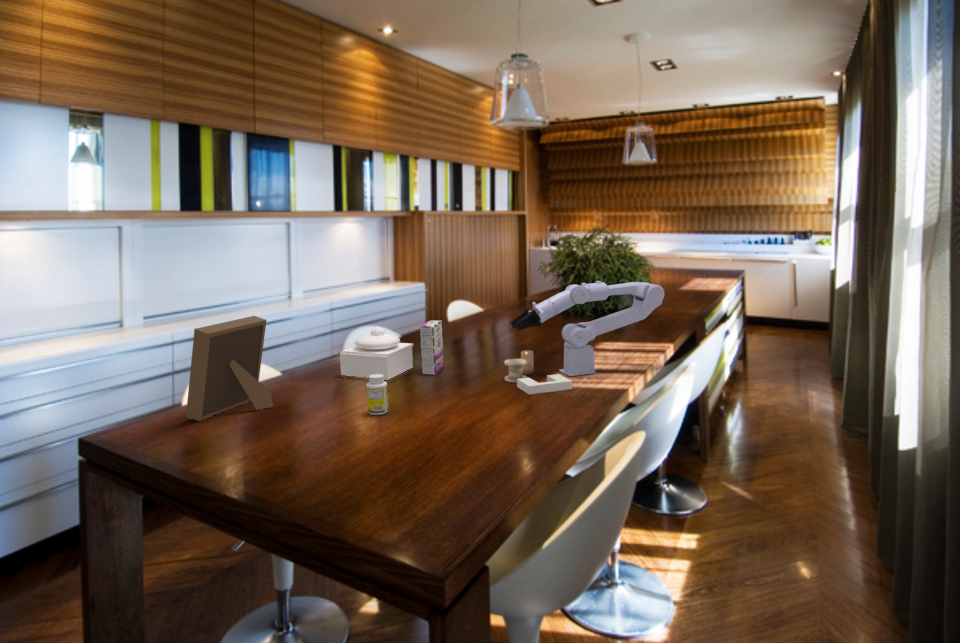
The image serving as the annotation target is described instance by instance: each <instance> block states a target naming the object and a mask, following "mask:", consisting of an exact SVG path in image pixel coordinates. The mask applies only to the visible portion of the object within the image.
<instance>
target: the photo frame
mask: <svg viewBox="0 0 960 643" xmlns="http://www.w3.org/2000/svg"><path fill="white" fill-rule="evenodd" d="M266 325H267V319H265V318H263V317H259V316H256V315H252V316H246V317H243V318H241V317H240V318H238V319H233V320H227V321H225V322H220V323H215V324H210V325H206V326H200V327H197V328H194V329H193V330H194V331H193V332H194V333H193V339H192V340H193V344H192V352H191V362H190V372H189V381H188V382H189V383H188V393H187V401H186V402H187V403H186V412H185V418H187V419H190V420H192V419H194V420H201V419H203V418H206V417H209V416H211V415H214V414H217V413H219V412H222V411H225V410H228V409H230V408H233V407H235V406H238V405H240V404H242V403H245V402H247V401H249V400H251V402H250V403H251V404H252V405H253V407H254V408H255V410H256V411H257V410H258V409H263V408H269V407H273V408H274V403H273V397H272V396H273V394H272V392H271V391H270V390H269V389H267V387H265V386H264V384H262V383H261V382H260V375H261V368H262V367H261V366H262V358H263V350H264V342H265V335H266V334H265V333H266V327H267V326H266ZM194 420H193V421H194Z"/></svg>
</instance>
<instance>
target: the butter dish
mask: <svg viewBox="0 0 960 643" xmlns="http://www.w3.org/2000/svg"><path fill="white" fill-rule="evenodd" d="M354 344H355V346H351V347H349V348H347V349H344V350H341V352H340V353H339V361H340V362H339V363H340V365H339V366H340V376H341V375H346V376H356V377H366V378H369V376H370V375H373V374H382V375H384V380H389V379H391V378H393V377H395V376H397V375H399V374H401V373H403V372H405V371H407V370H409V369H411V368H413V369H414V359H413V357H414V356H413V347H414V343H408V342H401V338H399V336H397V335H395V334H393V333H386V331H385V329H384V328H382V327H380V326H376V327H374V328H372V330H371V331H370V333H367V334H364V335H361V336H359V337H357V339H355V341H354ZM411 370H412V369H411ZM409 371H410V370H409ZM407 372H408V371H407ZM405 373H406V372H405ZM403 374H404V373H403ZM401 375H402V374H401ZM399 376H400V375H399ZM397 377H398V376H397ZM395 378H396V377H395ZM393 379H394V378H393ZM391 380H392V379H391ZM389 381H390V380H389Z"/></svg>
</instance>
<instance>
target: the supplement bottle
mask: <svg viewBox="0 0 960 643" xmlns="http://www.w3.org/2000/svg"><path fill="white" fill-rule="evenodd" d="M365 386H366V402H367V412H368V414H370V415H371V416H381V415H384V414H387V413H388V412H389V409H390V408H389V394H388V390H389V389H388V382H387V381H384V375H382V374H373V375H370V376H369V379H368V382H367V383H366V385H365Z"/></svg>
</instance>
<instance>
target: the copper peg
mask: <svg viewBox="0 0 960 643" xmlns="http://www.w3.org/2000/svg"><path fill="white" fill-rule="evenodd" d="M520 359H524V360H526V361H527V364H526V365H523V375H531V374H534V351H533V350H527V349H525V350H521V351H520Z"/></svg>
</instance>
